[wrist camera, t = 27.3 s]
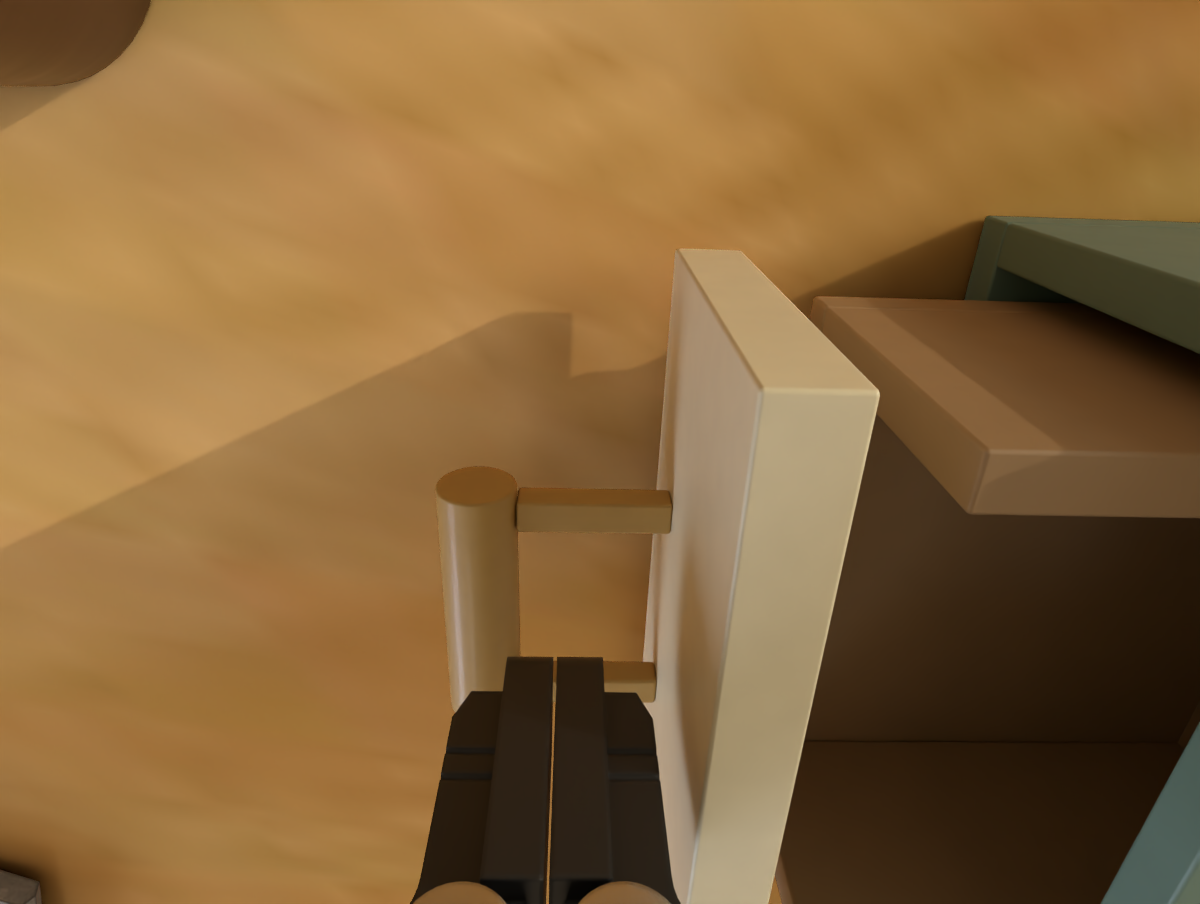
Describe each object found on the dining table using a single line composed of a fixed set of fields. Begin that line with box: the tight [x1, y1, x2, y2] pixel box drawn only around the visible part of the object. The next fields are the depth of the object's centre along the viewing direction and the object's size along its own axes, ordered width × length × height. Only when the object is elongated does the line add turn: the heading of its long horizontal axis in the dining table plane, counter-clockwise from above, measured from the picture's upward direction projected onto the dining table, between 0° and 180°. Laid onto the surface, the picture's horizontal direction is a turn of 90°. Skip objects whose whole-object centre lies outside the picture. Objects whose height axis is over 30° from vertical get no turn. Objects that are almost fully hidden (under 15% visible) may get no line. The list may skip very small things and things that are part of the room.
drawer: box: [435, 248, 1200, 904], centre depth 13 cm, size 18×12×7 cm
